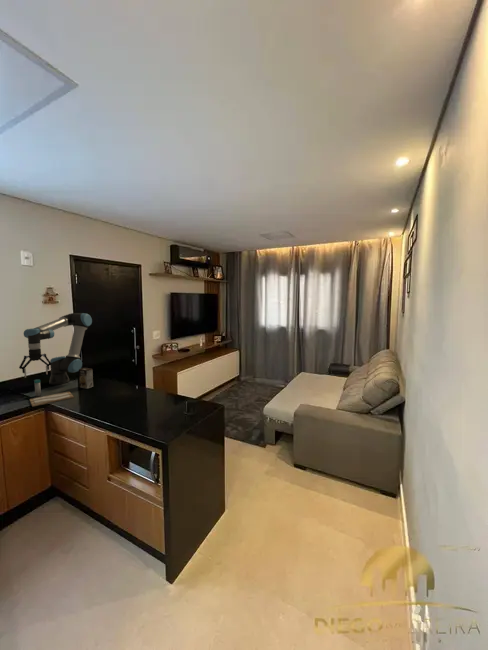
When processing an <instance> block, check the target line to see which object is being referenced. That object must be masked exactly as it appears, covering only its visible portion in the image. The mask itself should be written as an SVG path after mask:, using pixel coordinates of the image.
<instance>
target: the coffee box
mask: <svg viewBox="0 0 488 650" xmlns="http://www.w3.org/2000/svg"><path fill="white" fill-rule="evenodd" d="M93 371H94V370H93V368H88V367H81V369H79V371H78V376H79V377H78V378H79V379H78V381H79V388H82V389H86V390H87V389H91V388H92V387H94V379H93V378H94V376H93V375H94V373H93Z"/></svg>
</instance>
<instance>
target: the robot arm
mask: <svg viewBox="0 0 488 650" xmlns="http://www.w3.org/2000/svg"><path fill="white" fill-rule="evenodd" d="M92 323H93V319H92V317H91V315H90V314H88V313H84V312H72V313H68V314H65V315H62V316H60V317H58V319H55V320H52V321H50V322H47V323H44V324H41V325H39V326H37V327H34V328H27V329H25V330H24V331H23V336H24V338H26V339H27V343H28V344H27V345H28V347H27V348H28V355H23V359H22V361H21V362H20V365H19V367H18V368H19V370H21V371H22V374H24V378H27V370H26V369H27V366H28V365H29V364H30V363H31V362H33V361H40V362H42V363H44V364H45V374H46V375H48V372H49V370H50V377H49V385H54V386H56V385H62V384H66V383H67V384H68V383H69V382H70V378H69V375H68V373H77V372H79V369H81V368H83V361H82V360H81V357H80V353H81V350H82V346H83V340H84V336H85V333H86V330H88V328H89V327H90V326H91V325H92ZM69 326H72V328H74V330H73V334H72V337H71V343H70V346H69V350H68V354H67V355H65V356H64V355H63V356H56V357H52V358H51V359H49V358H48V357H47V353H42V349H41V341H43V340H47V339H48V340H49V339H53V338H54V337H55V330H59V329H60V328H62V327H63V328H64V327H65V328H66V327H69ZM42 357H44V359H45V360H44V359H43V358H42ZM27 359H28V361H27V362H26V360H27ZM25 362H26V363H25Z"/></svg>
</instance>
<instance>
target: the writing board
mask: <svg viewBox="0 0 488 650" xmlns="http://www.w3.org/2000/svg"><path fill="white" fill-rule="evenodd" d="M74 398H75V397H74V395H73V393H71V392H70V391H65V392H63V391H62V392H59V393H55V394H50V395H49V394H47V395H44V396H40V397H34V398H30V399H29V402H30V405H31V407H32V408H33V407H38V406H42V405H48V404H51V403H50V402H53V403H56V401H57V402H61V400H62V401H66V399H67V400H71V399H74Z"/></svg>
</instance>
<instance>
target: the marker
mask: <svg viewBox="0 0 488 650" xmlns="http://www.w3.org/2000/svg"><path fill="white" fill-rule="evenodd" d="M33 381H34V392H35V393H34V394H35V398H38V397H42V390H41V388H42V387H41V379H34V380H33Z"/></svg>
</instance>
